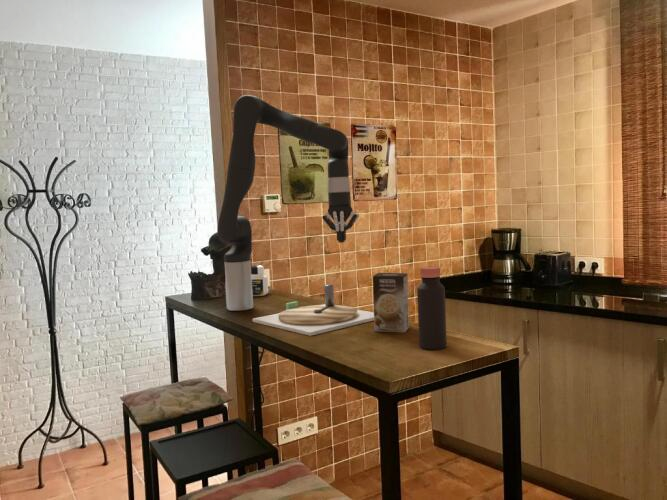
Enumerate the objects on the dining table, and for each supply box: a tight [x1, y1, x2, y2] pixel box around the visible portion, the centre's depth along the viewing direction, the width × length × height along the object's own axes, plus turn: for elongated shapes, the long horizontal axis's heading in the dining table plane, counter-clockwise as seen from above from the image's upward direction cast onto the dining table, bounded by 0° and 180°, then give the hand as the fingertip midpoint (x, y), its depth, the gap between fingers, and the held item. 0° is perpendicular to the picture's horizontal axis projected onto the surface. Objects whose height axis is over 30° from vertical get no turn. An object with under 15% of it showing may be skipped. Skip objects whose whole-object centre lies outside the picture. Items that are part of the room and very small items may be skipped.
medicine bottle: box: [251, 264, 269, 297], centre depth 240 cm, size 7×7×12 cm
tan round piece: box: [278, 283, 358, 324], centre depth 185 cm, size 25×25×8 cm
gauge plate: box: [252, 300, 374, 337], centre depth 186 cm, size 30×30×4 cm
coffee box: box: [372, 272, 410, 333], centre depth 167 cm, size 9×6×16 cm
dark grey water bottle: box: [416, 266, 448, 351], centre depth 146 cm, size 7×7×20 cm
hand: (341, 242), depth 199 cm, fingers closed
